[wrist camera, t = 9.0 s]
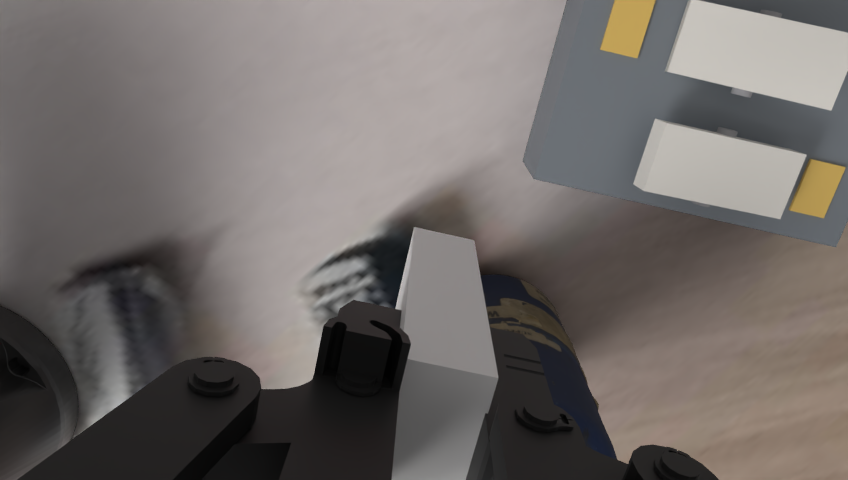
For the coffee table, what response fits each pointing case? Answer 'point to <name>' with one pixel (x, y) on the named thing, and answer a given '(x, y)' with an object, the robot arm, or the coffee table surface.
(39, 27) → the coffee table surface
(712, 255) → the coffee table surface
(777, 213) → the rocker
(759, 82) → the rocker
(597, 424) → the canister
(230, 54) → the coffee table surface
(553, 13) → the coffee table surface
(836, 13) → the switch unit
